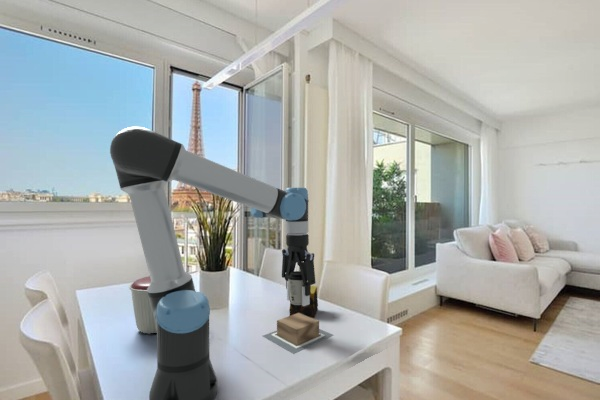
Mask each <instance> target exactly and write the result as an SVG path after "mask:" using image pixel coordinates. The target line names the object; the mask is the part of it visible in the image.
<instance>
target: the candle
mask: <svg viewBox="0 0 600 400" xmlns="http://www.w3.org/2000/svg"><path fill="white" fill-rule="evenodd" d="M318 301H319V300H318V285H317V286H316V285H311V294H310V304H309V305H306V306H302V305H293V304H291V300H289V303H290V304H289V311H288V312H289V316H291V315H294V314H297V313H301V314H303V315H306V316H308V317H311V318H313V319H315V317H316V315H317V313H318V311H319V309H318V308H319V307H318V306H319V302H318Z"/></svg>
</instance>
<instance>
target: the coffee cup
mask: <svg viewBox="0 0 600 400" xmlns="http://www.w3.org/2000/svg"><path fill="white" fill-rule="evenodd" d="M287 278H288V282H289V290H290V298H291V304H293V305H302V285H304V284H303V280H302V276H301V271H300V270H299V271H298V270H294V272H291V273H290V275H288V277H287Z"/></svg>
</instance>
